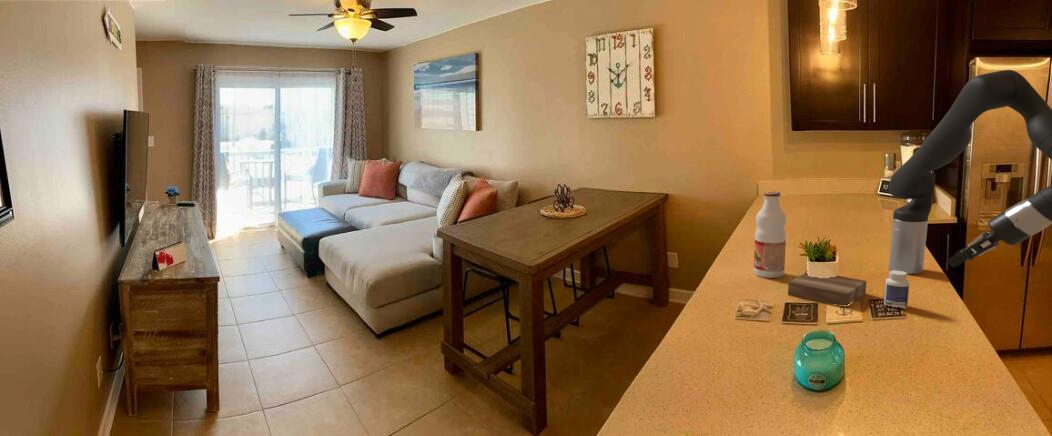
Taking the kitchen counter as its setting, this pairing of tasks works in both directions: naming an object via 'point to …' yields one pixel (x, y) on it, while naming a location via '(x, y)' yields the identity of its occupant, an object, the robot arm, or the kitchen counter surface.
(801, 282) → the walnut base
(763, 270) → the fruit juice
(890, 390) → the kitchen counter surface
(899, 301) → the pill bottle
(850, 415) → the kitchen counter surface
